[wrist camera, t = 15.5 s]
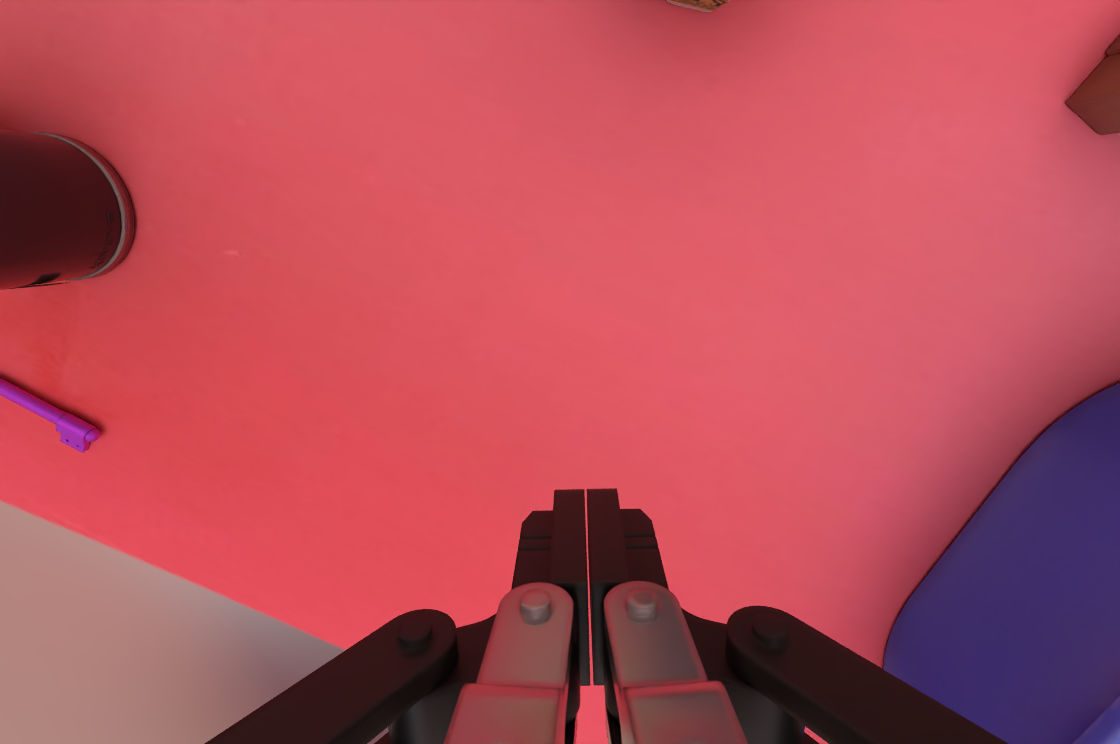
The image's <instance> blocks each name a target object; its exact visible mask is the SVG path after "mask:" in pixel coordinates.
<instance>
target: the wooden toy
mask: <svg viewBox="0 0 1120 744" xmlns="http://www.w3.org/2000/svg"><path fill="white" fill-rule="evenodd" d="M1106 54H1107V55H1108V57H1106V58H1105V59H1104V60H1103V61H1102V62H1101V63H1100V65H1099V66H1098V67H1097V68H1096V69H1095V70H1094V71H1093V72H1092V73H1091V75H1090V76H1089V77H1088V78H1087V79H1086V80H1085V81H1084V82H1083V84H1082V85H1081V86H1080V87H1079V88H1078V89H1077V90H1076V91H1075V93H1074V94H1073V95H1072V96H1071V97H1070V98H1069V99H1068V101H1067V102H1066V104H1067V105H1068V106H1069V107H1070V108H1071V109H1072V110H1073V111H1074V112H1075V113H1076V114H1077V115H1079V116H1080V117H1081V118H1082V119H1083V120H1084V121H1085V122H1086V123H1087V124H1088V125H1089V126H1091V127H1092V128H1093V129H1094V130H1095V131H1096V132H1097V133H1098V134H1100V135H1104V134H1112V133H1120V36H1119V37H1118V38H1117V39H1116V41H1115V42H1114V43H1113V44H1112V45H1111V46H1110V47H1109V49H1108V50H1107V52H1106Z"/></svg>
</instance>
